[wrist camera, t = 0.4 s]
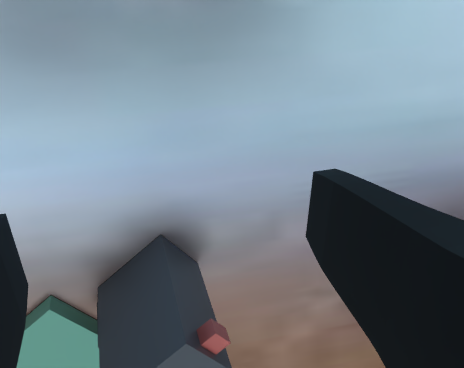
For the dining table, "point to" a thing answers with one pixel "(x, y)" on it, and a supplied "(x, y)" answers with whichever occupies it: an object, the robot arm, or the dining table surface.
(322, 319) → the dining table surface
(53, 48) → the dining table surface
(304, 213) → the dining table surface
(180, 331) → the dark grey upright block
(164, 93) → the dining table surface
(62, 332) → the circuit board
